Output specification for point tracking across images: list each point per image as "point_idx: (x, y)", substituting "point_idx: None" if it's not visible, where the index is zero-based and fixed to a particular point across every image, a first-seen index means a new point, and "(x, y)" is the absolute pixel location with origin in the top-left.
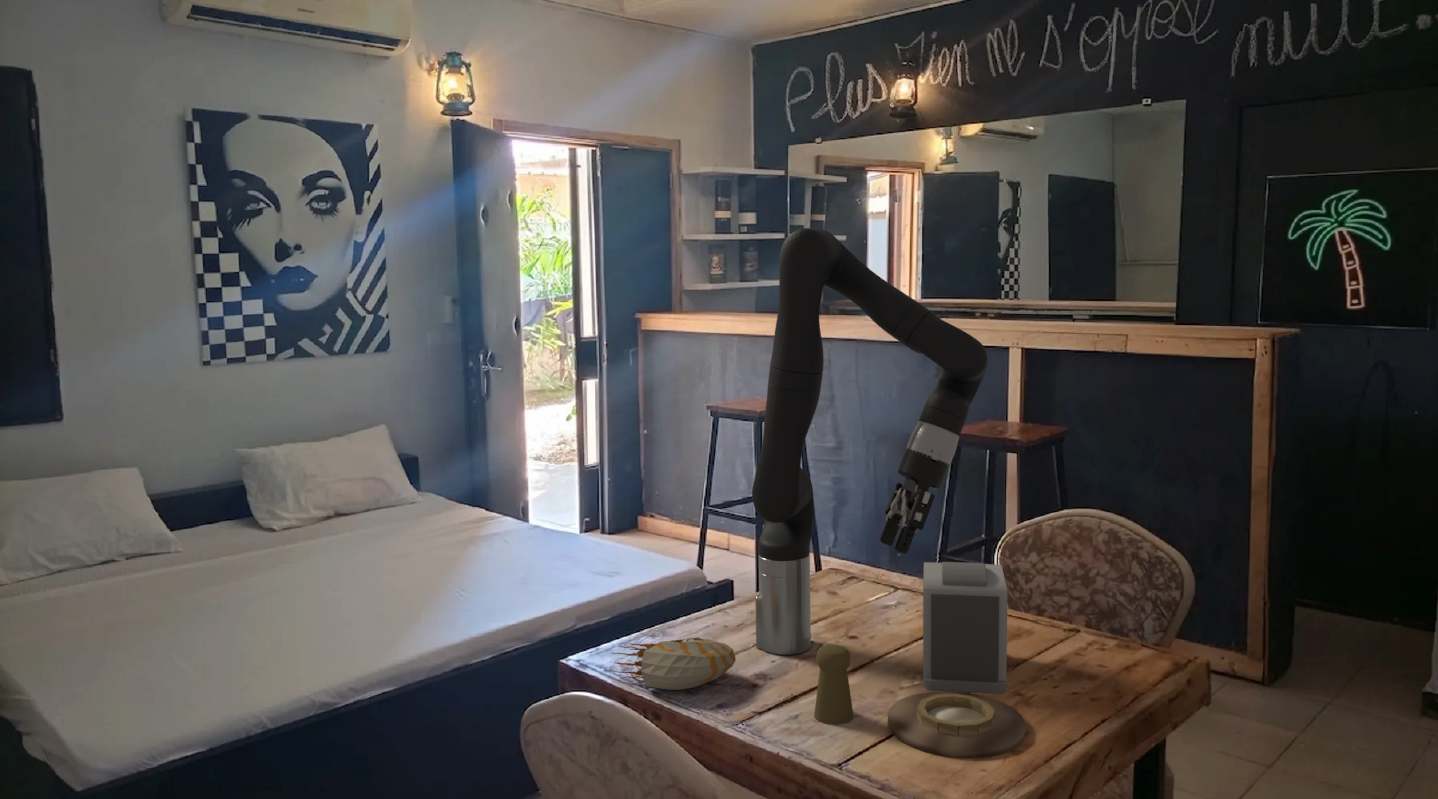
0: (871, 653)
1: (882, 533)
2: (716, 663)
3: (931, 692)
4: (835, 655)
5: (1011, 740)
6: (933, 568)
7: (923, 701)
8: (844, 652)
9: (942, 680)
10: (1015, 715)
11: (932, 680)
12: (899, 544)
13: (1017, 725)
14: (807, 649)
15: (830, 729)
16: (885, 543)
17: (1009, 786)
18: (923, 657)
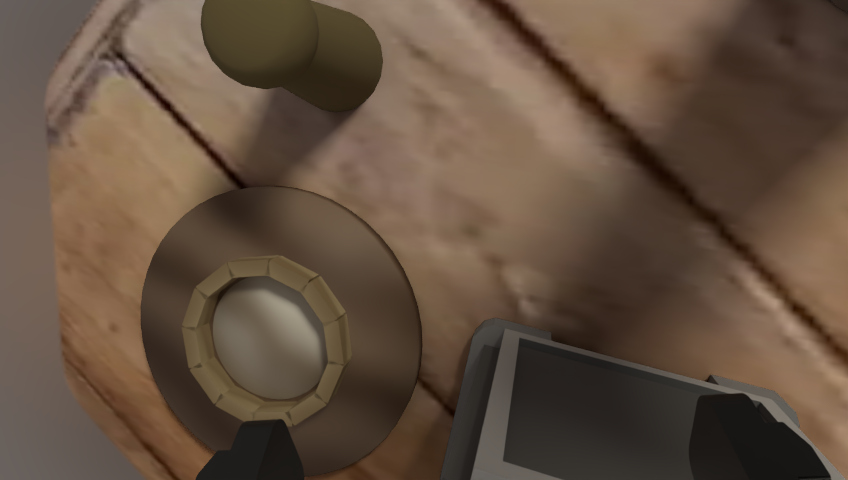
0: (776, 227)
1: (752, 452)
2: None
3: (411, 323)
4: (202, 28)
5: (178, 413)
6: None
7: (300, 283)
8: (220, 61)
9: (472, 370)
10: None
11: (474, 345)
12: (212, 474)
13: None
14: (841, 7)
15: None
16: (694, 425)
17: (64, 352)
18: (501, 348)
